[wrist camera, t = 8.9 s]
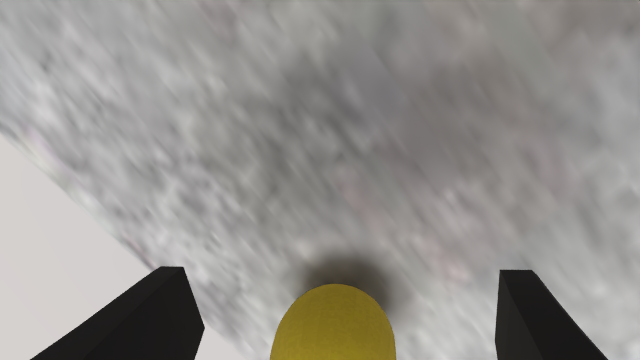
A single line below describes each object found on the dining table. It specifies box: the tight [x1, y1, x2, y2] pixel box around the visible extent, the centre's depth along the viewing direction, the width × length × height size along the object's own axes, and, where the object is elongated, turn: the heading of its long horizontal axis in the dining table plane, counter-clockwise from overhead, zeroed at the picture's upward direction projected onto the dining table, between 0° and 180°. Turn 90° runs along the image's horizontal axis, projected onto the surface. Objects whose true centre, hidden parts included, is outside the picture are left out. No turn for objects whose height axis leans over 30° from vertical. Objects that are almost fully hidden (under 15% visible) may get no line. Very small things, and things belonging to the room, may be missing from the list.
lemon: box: [270, 284, 396, 360], centre depth 20 cm, size 6×6×8 cm
